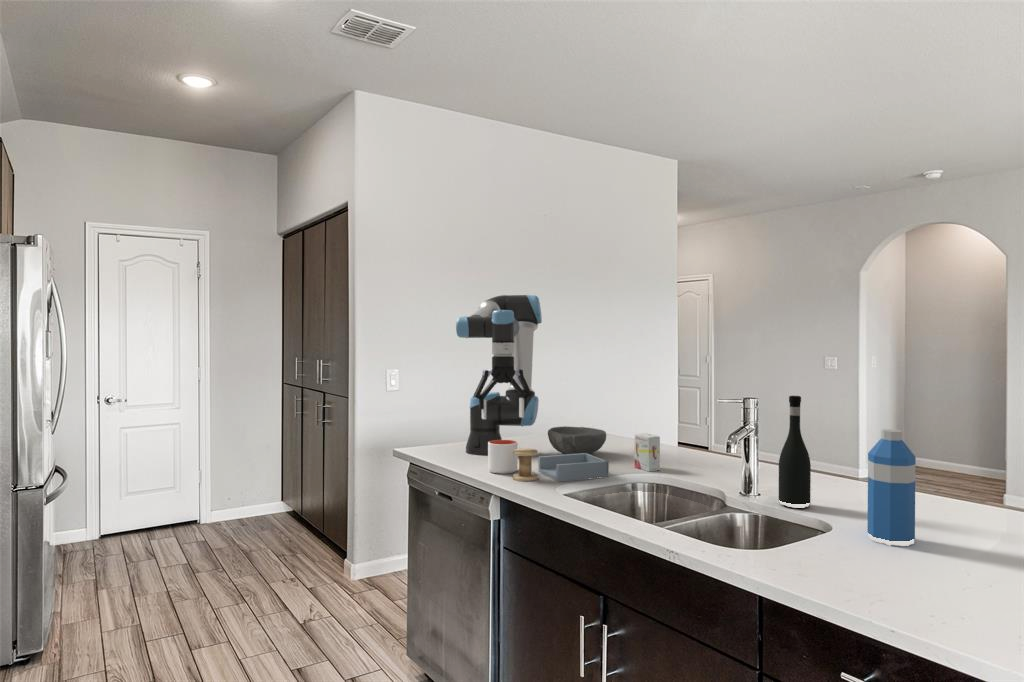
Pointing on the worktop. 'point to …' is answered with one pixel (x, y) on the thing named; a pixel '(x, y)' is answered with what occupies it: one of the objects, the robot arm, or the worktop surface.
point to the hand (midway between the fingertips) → (502, 418)
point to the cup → (502, 456)
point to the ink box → (647, 452)
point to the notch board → (573, 467)
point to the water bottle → (891, 488)
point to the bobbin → (525, 465)
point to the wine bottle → (794, 461)
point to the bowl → (576, 439)
